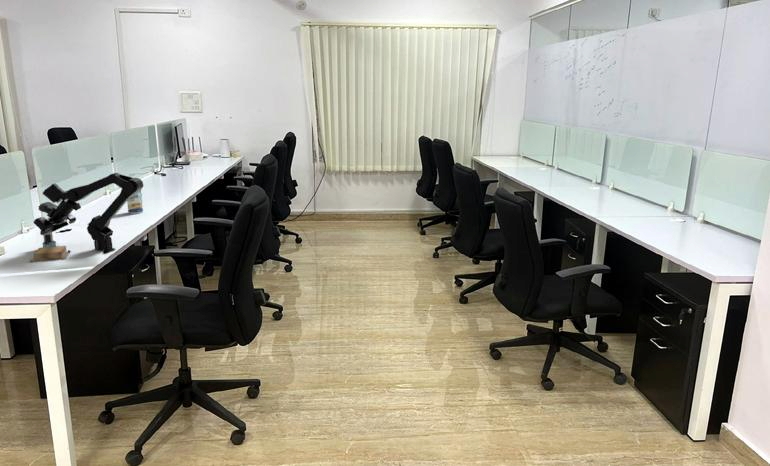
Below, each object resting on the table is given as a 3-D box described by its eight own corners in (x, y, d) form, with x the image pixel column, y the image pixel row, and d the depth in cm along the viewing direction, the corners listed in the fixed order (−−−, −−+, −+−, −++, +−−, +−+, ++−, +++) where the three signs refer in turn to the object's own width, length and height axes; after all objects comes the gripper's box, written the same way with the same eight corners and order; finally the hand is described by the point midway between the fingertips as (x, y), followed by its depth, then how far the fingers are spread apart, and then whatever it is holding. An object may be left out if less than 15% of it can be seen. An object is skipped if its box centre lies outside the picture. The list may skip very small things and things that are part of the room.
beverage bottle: (146, 211, 329) (142, 178, 324) (138, 214, 320) (135, 180, 316) (132, 210, 329) (129, 177, 324) (125, 213, 321) (121, 179, 316)
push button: (61, 245, 249) (58, 224, 247) (56, 248, 244) (53, 226, 242) (45, 246, 248) (42, 224, 246) (40, 249, 243) (37, 227, 241)
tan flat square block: (66, 252, 239) (65, 245, 238) (61, 258, 230) (60, 251, 229) (40, 254, 236) (39, 247, 235) (34, 260, 226) (33, 253, 226)
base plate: (71, 253, 241) (71, 249, 240) (65, 261, 229) (64, 258, 229) (37, 255, 237) (37, 252, 236) (29, 264, 225) (29, 260, 224)
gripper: (66, 192, 248) (49, 215, 253) (33, 200, 231) (15, 224, 235) (84, 210, 249) (66, 232, 254) (52, 219, 231) (34, 243, 236)
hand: (46, 233), depth 245 cm, fingers closed on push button, 5 cm apart
